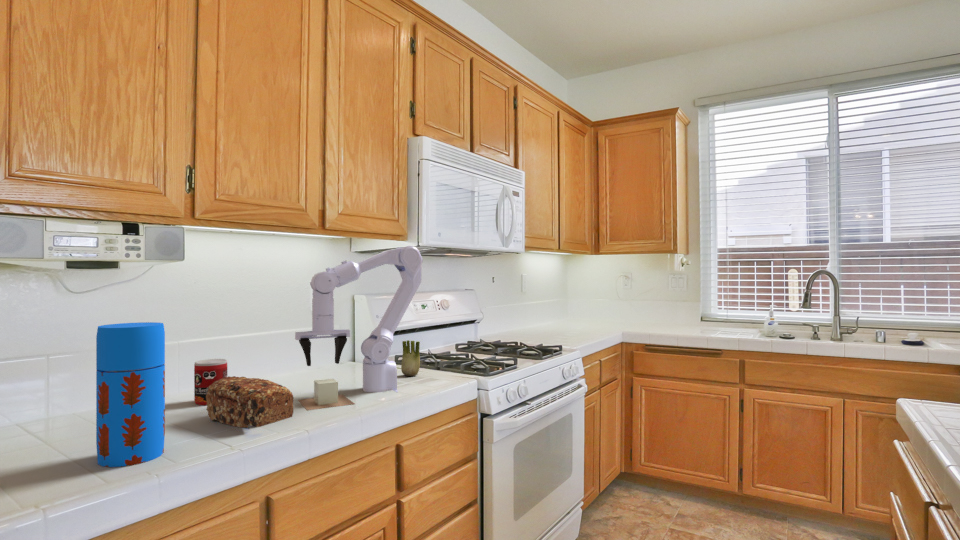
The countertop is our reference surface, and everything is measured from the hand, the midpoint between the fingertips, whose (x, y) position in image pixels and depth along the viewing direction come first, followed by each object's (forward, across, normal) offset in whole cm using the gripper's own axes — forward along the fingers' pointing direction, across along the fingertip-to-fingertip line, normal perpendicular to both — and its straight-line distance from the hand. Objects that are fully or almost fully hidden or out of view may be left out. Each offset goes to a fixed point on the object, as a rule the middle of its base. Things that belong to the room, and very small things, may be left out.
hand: (323, 364), depth 145 cm
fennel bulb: (+10, -32, -18) cm, 38 cm away
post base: (+9, +1, +9) cm, 13 cm away
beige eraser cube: (+8, +1, +9) cm, 12 cm away
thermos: (+10, +42, +29) cm, 52 cm away
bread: (+10, +20, +14) cm, 26 cm away
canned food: (+10, +27, -11) cm, 31 cm away
